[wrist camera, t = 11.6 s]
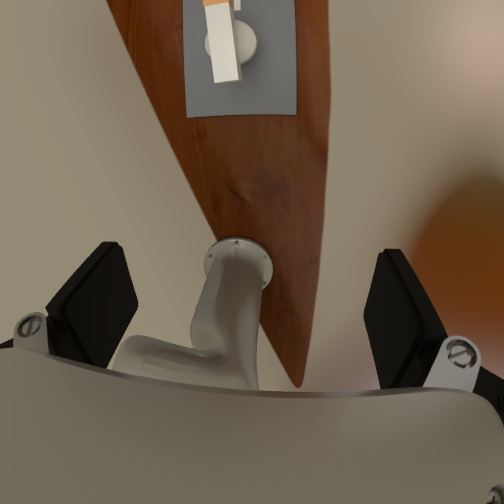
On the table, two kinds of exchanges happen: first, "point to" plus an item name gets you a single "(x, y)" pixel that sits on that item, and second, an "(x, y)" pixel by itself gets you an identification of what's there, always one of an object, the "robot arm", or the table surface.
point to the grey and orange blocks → (227, 41)
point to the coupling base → (253, 72)
